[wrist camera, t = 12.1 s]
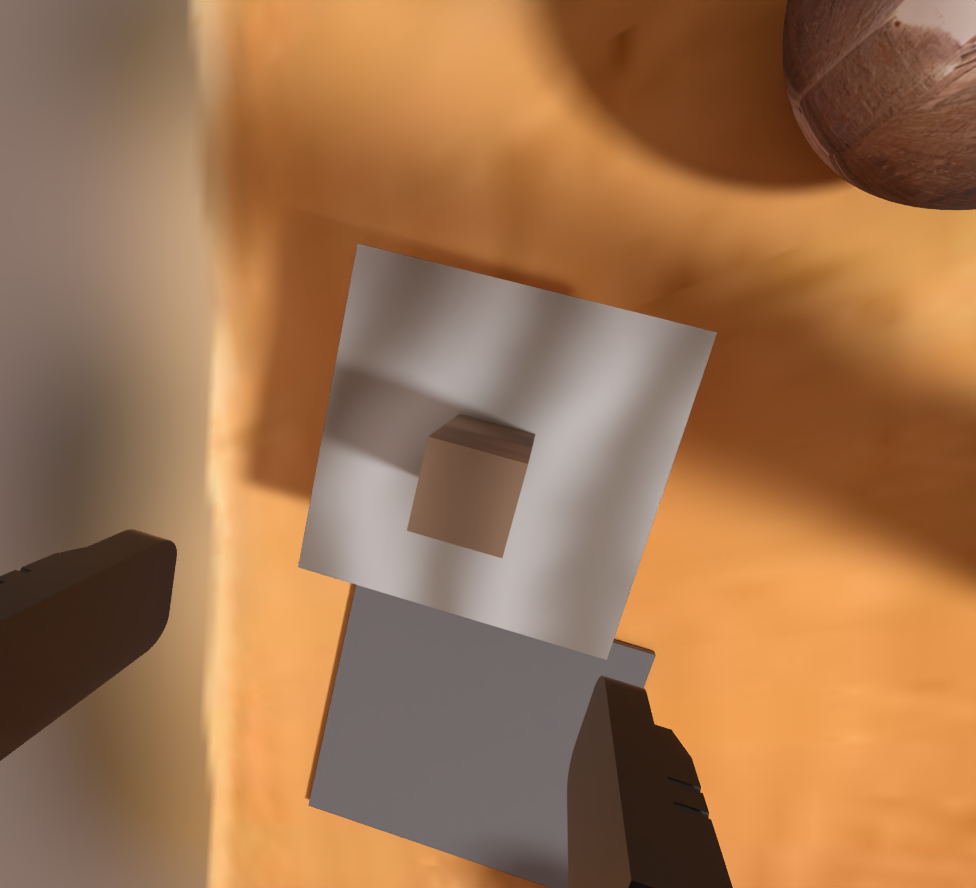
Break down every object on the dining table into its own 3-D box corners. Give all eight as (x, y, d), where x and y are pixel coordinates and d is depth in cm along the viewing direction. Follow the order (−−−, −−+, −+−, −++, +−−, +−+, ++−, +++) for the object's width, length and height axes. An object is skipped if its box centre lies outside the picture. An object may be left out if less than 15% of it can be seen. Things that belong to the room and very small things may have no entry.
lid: (711, 332, 23) (774, 329, 16) (605, 650, 26) (621, 754, 20) (364, 246, 24) (290, 210, 18) (305, 560, 28) (225, 630, 21)
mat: (654, 651, 32) (655, 655, 32) (568, 888, 36) (568, 893, 36) (362, 563, 34) (360, 566, 33) (310, 800, 38) (308, 805, 38)
